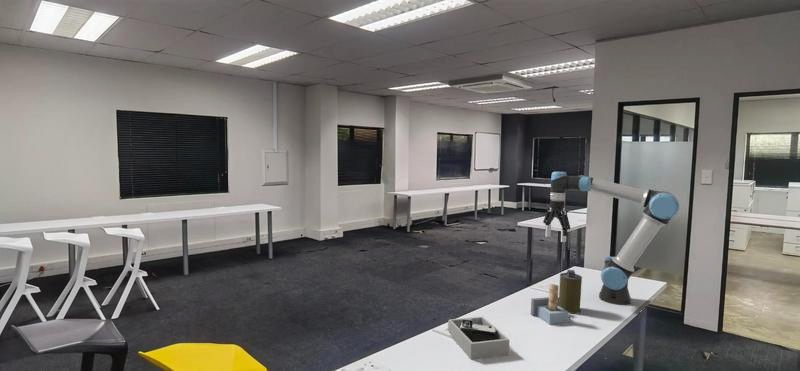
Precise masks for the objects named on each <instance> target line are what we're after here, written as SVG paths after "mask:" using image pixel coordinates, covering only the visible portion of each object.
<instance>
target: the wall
mask: <svg viewBox="0 0 800 371" xmlns="http://www.w3.org/2000/svg"><path fill="white" fill-rule="evenodd" d="M530 300H531V301H530V316H532V317H538V316H537V306H542V305H549V296H548V297H547V296H545V297H535V298H530ZM558 306H559V297H558Z"/></svg>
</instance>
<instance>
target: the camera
mask: <svg viewBox="0 0 800 371" xmlns="http://www.w3.org/2000/svg"><path fill="white" fill-rule="evenodd" d="M462 318H463V317H462ZM466 318H467V317H464V318H463V319H462V324H461V326H460V330H461V331H462V332H463V333H464V334H465V335H466V336H467V337H468V338H469V339H470V340H471V341H472V342H481V341H491V340H496V329H497V327H496V326H494V327H491V326H484V325H477V324H473V325H472V319H466ZM466 321H467V322H466ZM468 321H469V322H470V324H469V323H468ZM464 322H466V325H465V324H464Z"/></svg>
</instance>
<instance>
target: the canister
mask: <svg viewBox="0 0 800 371" xmlns="http://www.w3.org/2000/svg"><path fill="white" fill-rule="evenodd" d="M582 279H583V276H582V275H580V274H576V272H575V270H574V269H567V271H566V272H562V273H560V274H559V287H558V298H559V307H561V308H563V309H564V310H566V311H568V312H569V314H572V315H573V314H578V313H580V312H581V300H582V298H581V296H582V283H583V282H582Z"/></svg>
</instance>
